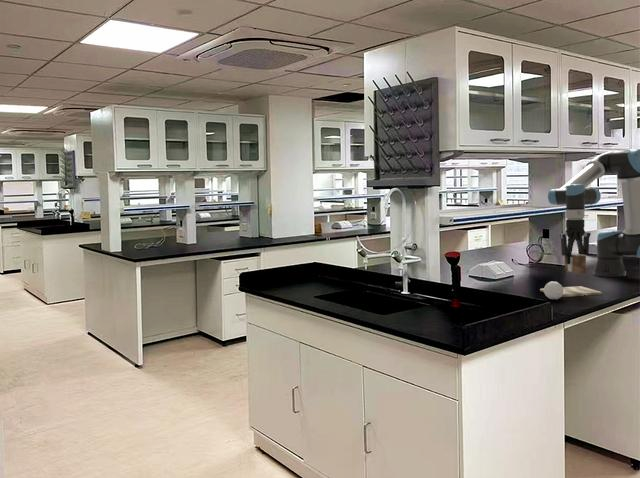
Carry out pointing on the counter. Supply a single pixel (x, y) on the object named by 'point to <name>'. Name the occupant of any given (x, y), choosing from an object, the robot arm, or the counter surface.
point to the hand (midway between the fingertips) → (575, 271)
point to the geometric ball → (553, 290)
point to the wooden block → (577, 263)
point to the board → (577, 291)
